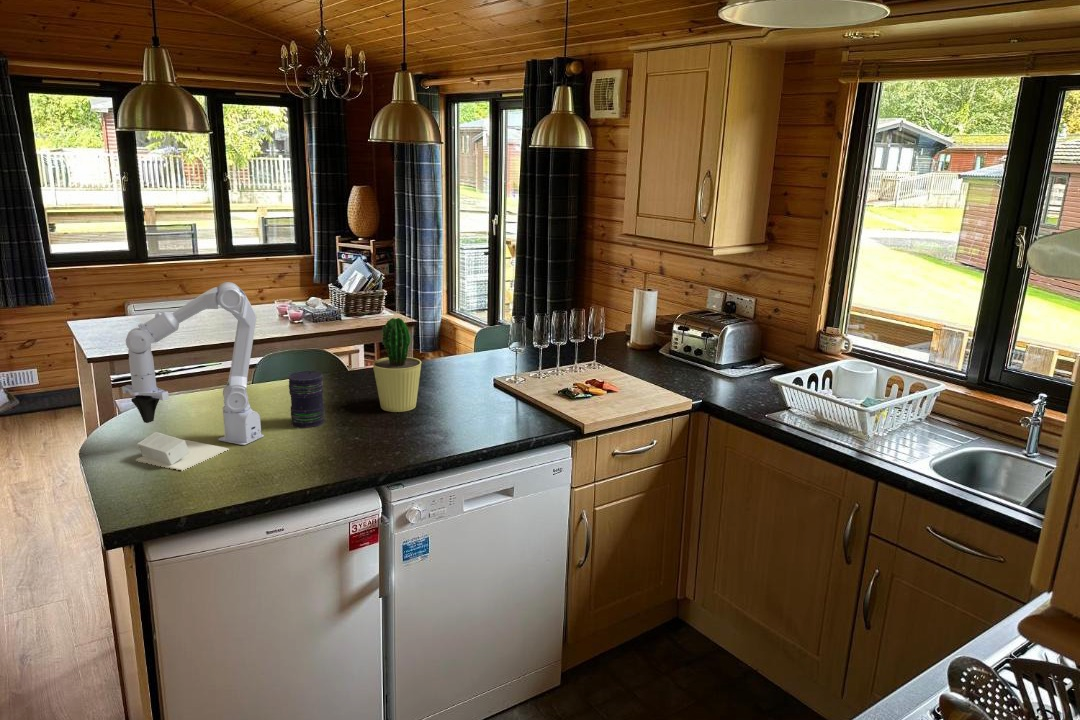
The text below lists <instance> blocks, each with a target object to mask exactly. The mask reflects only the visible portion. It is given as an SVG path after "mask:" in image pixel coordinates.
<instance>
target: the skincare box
mask: <svg viewBox="0 0 1080 720" xmlns="http://www.w3.org/2000/svg"><path fill="white" fill-rule="evenodd" d="M185 440H186V439H182V438H178V437H175V436H172V435H168V434H165V433H162V432H158V431H154V432H153V433H151V434H150V435H148V436H147V437H145V438H144V439H142V440H140V441H139V442H137V447H138V449H139V451H140V454H141V455H142V456H141V457H143V456H144V457H147V458H150V459H153V460H156V461H160V462H163V463H166V464H169V465H173V464H174V463H175V462H177V461H178V460H180V459H181V458H182V457H184V456H185V455H187V454H188V453H190V452H189V450H188V447H187V445H186V443H185Z"/></svg>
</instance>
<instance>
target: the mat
mask: <svg viewBox="0 0 1080 720" xmlns="http://www.w3.org/2000/svg"><path fill="white" fill-rule="evenodd" d="M184 440H185V443H186V445H187V447H188V450H189V452H190V453H188V454H187V455H185V456H184V457H182V458H181V459H180V460H178V461H177V462H175V463H174V464H173V465H169V464H166V463H163V462H160V461H156V460H153V459H150V458H147V457H144V456H140V457H137V458H136V459H135V462H137V461H138V462H139V463H142V462H143V464H146V463H148V464H147V465H151V464H152V465H151V466H155V465H156V467H160V466H161V468H164V467H165V469H169V468H170V470H173V469H176V470H175V471H178V470H181V471H180V472H184V471H186V470H188V469H187V468H189V469H191V468H193V467H195V466H197V465H199V464H198V463H200V464H201V462H202V463H204V462H206V461H208V460H210V459H209V458H211V459H213V458H215V457H217V456H219V455H218V454H220V453H222V454H224V453H225V452H224V451H226V452H228V451H230V448H228V447H223V446H219V445H213V444H207V443H204V442H199V441H193V440H189V439H184ZM227 450H228V451H227ZM223 452H224V453H223ZM216 455H217V456H216ZM220 455H221V454H220ZM214 456H215V457H214ZM212 457H213V458H212ZM207 459H208V460H207ZM205 460H206V461H205ZM203 461H204V462H203ZM196 464H197V465H196ZM194 465H195V466H194ZM192 466H193V467H192ZM190 467H191V468H190ZM185 469H186V470H185ZM183 470H184V471H183Z"/></svg>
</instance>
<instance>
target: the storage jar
mask: <svg viewBox="0 0 1080 720" xmlns="http://www.w3.org/2000/svg"><path fill="white" fill-rule="evenodd" d="M288 380H289V381H288V388H289V391H288V392H289V396H290V402H291V403H290V404H291V406H290V418H291V426H292V425H293V427H294V426H295V427H294V428H297V427H299V428H298V429H312V427H313V428H317V427H321V426H323V425H324V424H325V422H326V420H325V414H326V409H325V404H324V396H323V393H324V382H323V373H322V372H319V371H316V370H315V371H314V370H306V371H305V370H304V371H297V372H293V373H290V374H289V375H288ZM320 425H321V426H320Z"/></svg>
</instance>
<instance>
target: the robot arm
mask: <svg viewBox="0 0 1080 720" xmlns="http://www.w3.org/2000/svg"><path fill="white" fill-rule="evenodd" d="M219 307H221V308H222V309H223V310H226V311H227V312H228V313H230V314H231V315H232V316H233V317H234V318H235V320H236V321H237V324H236V329H235V337H234V342H233V350H232V351H233V352H232V356H231V365H230V370H229V376H228V381H227V382H226V384H225V386H223V390H222V396H223V405H224V406H223V407H222V415H223V416H222V417H223V427H224V436H220V437H219V438H218V439H217V440H218V441H221V442H226V443H231V444H236V445H241V446H246V445H248V444H250V443H252V442H253V443H254V442H255V441H256V440H259V439H261V438H263V437H264V434H262V426H261V416H260V414H259V412H257V411H255V410H254V409H252V408H251V405H250V403H249V397H248V392H247V387H248V375H249V369H250V368H249V367H250V362H251V356H252V350H253V343H254V336H255V331H256V330H255V329H256V324H257V323H256V322H257V314H256V312H255V310H254V308H253V306H252V304H251V302H250V300H249V299H248V297H247V295H246V293H245V291H244V290H242V289H241V288H240V287H239V286H238V285H237V284H236V283H234V282H229V281H228V282H226V281H225V282H223V283H221V284H219V286H216V287H212V288H210V289H208V290H206V291H205V292H203V293H201V294H200V295H198V296H197V297H195V298H193V299H192V300H190V301H188V302H187V303H186V304H184V305H183V306H181V307H179V308H177V309H176V310H175V311H173V312H167V311H163V312H162V313H161V312H160V311H159V312H156V313H155V314H154V317H153V318H151V319H150V320H148V321H146V322H145V323H142V322H141V323H139V324H138V327H134V328H132V329H130V330H129V331H128V334H127V335H126V337H125V345H126V347H127V349H128V350H127V351H128V352H127V353H128V356H129V357H128V362H129V363H128V365H129V372H130V378H131V379H130V380H131V384H126V385H123V386H121V389H122V394H125V395H127V394H129V395H130V396H134V397H132V398H131V403H133V404H134V407H136V409H137V410H138V413H139V414H140V417H141V419H142V421H143V423H145V424H149V423H152V422H154V420H155V414H156V409H157V406H158V404H159V402H160V401H165V400H167V399H168V400H169V398H170V397H169V396H170V395H169V391H167V390H164V389H162V388H160V387H158V386H157V378H156V371H155V364H154V363H155V362H154V355H153V353H152V344H154V343H155V344H156V343H158V342H160V341H161V340H163V339H165V338H166V337H168V336H170V335H172V334H173V333H175V332H176V331H178V330H179V327H180V324H181V323H182V322H184V321H186V320H188V319H190V318H191V317H193V316H195V315H197V314H199V313H200V312H202V311H204V310H206V309H208V310H209V309H211V310H218V309H219Z"/></svg>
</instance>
